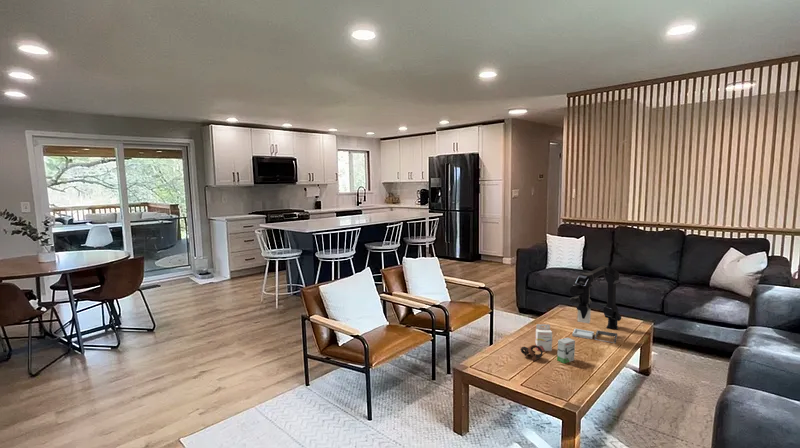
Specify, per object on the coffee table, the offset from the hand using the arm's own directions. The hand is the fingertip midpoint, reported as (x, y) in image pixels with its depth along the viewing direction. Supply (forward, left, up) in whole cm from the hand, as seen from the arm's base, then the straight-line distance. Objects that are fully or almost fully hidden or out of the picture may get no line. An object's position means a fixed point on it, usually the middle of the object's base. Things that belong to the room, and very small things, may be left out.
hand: (583, 317), depth 259 cm
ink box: (+44, -3, -12) cm, 45 cm away
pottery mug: (+49, -21, -12) cm, 55 cm away
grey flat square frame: (-2, +13, -12) cm, 18 cm away
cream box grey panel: (0, 0, -3) cm, 3 cm away
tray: (0, 0, -12) cm, 12 cm away
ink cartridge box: (+35, -17, -12) cm, 40 cm away
